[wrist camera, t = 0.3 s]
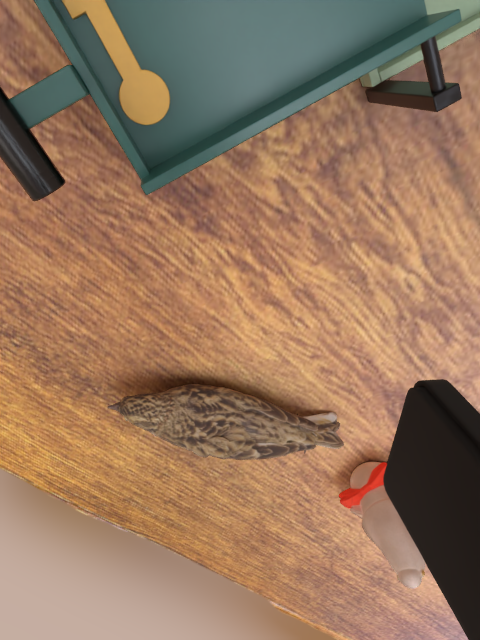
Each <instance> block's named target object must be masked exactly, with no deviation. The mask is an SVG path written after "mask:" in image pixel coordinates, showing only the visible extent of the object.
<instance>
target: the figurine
mask: <svg viewBox="0 0 480 640" xmlns="http://www.w3.org/2000/svg"><path fill="white" fill-rule="evenodd" d="M386 466H387V463H385V462H382V463H380V462H366V463H363V464H361V465H359V466H358V467H357V468H355V470H354V471H353V472H352V475H351V478H350V488H349V489H347V490H345V491H343V492H341V493H340V494H339V498H341V500H340V503H341V504H342V505H344V506H345V507H347V508H351V509H350V511H351V512H352V513H353V514H355V515H357V516H358V517H360V518H361V519H362V527H363V529H364V531H365V533H366V534H367V536H368V537H369V538H370V539H371V540H372V541H373V542H374V543H375V544H376V546H377V547H378V548H379V549H380V550H381V552H382V553H383V554H384V556H385V557H386V559H387V561H388V562H389V564H390V565H391V567H392V568H393V570H394V571H395V573H396V574H397V579H398V580H399V581H400V582H401V583H402V584H403V585H404V586H406V587H408V588H416V587H418V586H419V585H420V584H421V580H422V577H424V575H425V572H424V570H425V561H424V559H423V557H422V555H421V554H420V552H419V550H418V548H417V547H416V545H415V543H414V541H413V539H412V538H411V536H410V534H409V532H408V530H407V529H406V527H405V525H404V523H403V522H402V520H401V518H400V516H399V514H398V513H397V511H396V509H395V507H394V506H393V504H392V502H391V500H390V498H389V497H388V495H387V493H386V491H385V487H384V482H383V477H384V473H385V469H386Z"/></svg>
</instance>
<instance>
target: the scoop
mask: <svg viewBox="0 0 480 640" xmlns="http://www.w3.org/2000/svg"><path fill="white" fill-rule="evenodd" d="M34 1H35V3H36V5H37V6H38V8H39V10H40V11H41V13H42V15H43V17H44V18H45V20H46V22H47V23H48V25H49V27H50V28H51V30H52V32H53V33H54V35H55V37H56V38H57V40H58V42H59V43H60V45H61V47H62V48H63V50H64V52H65V53H66V55H67V57H68V58H69V60H70V62H71V63H72V65H67V66H65V67H64V68H62V69H60V70H58V71H57V72H55V73H53V74H52V75H50V76H48V77H47V78H45V79H43V80H41V81H40V82H38V83H36V84H35V85H33V86H31V87H29V88H28V89H26V90H24V91H23V92H21V93H19V94H18V95H16V96H14V97H12V98H11V99H9V98H8V97H7V95H6V94H5V92H4V91H3V90H2V88H1V87H0V157H1V159H2V160H3V161H4V163H5V164H6V165H7V167H8V168H9V169H10V171H11V172H12V174H13V175H14V176H15V178H16V179H17V180H18V182H19V183H20V184H21V186H22V187H23V188H24V190H25V191H26V192H27V194H28V195H29V196H30V198H31V199H32V200H33V201H38V200H40V199H42V198H44V197H46V196H48V195H49V194H51V193H53V192H54V191H56V190H57V189H59V188H60V187H62V186H63V185H64V184H65V180H64V178H63V177H62V175H61V174H60V172H59V171H58V169H57V168H56V167H55V165H54V164H53V162H52V161H51V159H50V158H49V156H48V155H47V153H46V152H45V151H44V149H43V148H42V146H41V145H40V143H39V142H38V140H37V139H36V137H35V136H34V135H33V133H32V132H31V130H30V129H31V128H32V127H34V126H36V125H38V124H39V123H41V122H43V121H44V120H46V119H48V118H50V117H51V116H53V115H55V114H57V113H58V112H60V111H62V110H64V109H65V108H67V107H69V106H70V105H72V104H74V103H76V102H77V101H79V100H81V99H83V98H84V97H86V96H88V95H89V93H90V95H91V97H92V98H93V100H94V102H95V104H96V105H97V107H98V109H99V110H100V112H101V114H102V115H103V117H104V119H105V120H106V122H107V124H108V125H109V127H110V129H111V130H112V132H113V134H114V135H115V137H116V139H117V140H118V142H119V144H120V145H121V147H122V149H123V150H124V152H125V154H126V155H127V157H128V159H129V160H130V162H131V164H132V165H133V167H134V169H135V170H136V172H137V174H138V175H139V177H140V179H141V188H142V189H143V191H144V193H145V194H146V195H148V194H150V193H152V192H154V191H155V190H157V189H159V188H161V187H163V186H165V185H166V184H168V183H170V182H172V181H174V180H175V179H177V178H179V177H181V176H183V175H184V174H186V173H188V172H190V171H192V170H194V169H195V168H197V167H199V166H201V165H203V164H204V163H206V162H208V161H210V160H212V159H213V158H215V157H217V156H219V155H221V154H222V153H224V152H226V151H228V150H230V149H232V148H233V147H235V146H237V145H239V144H241V143H242V142H244V141H246V140H248V139H250V138H251V137H253V136H255V135H257V134H259V133H261V132H262V131H264V130H266V129H268V128H270V127H271V126H273V125H275V124H277V123H279V122H280V121H282V120H284V119H286V118H288V117H289V116H291V115H293V114H295V113H297V112H299V111H300V110H302V109H304V108H306V107H308V106H309V105H311V104H313V103H315V102H317V101H318V100H320V99H322V98H324V97H326V96H328V95H329V94H331V93H333V92H335V91H337V90H338V89H340V88H342V87H344V86H346V85H347V84H349V83H351V82H353V81H355V80H356V79H358V78H360V77H362V76H364V75H366V74H367V73H369V72H371V71H373V70H375V69H376V68H378V67H380V66H382V65H384V64H385V63H387V62H389V61H391V60H393V59H395V58H396V57H398V56H400V55H402V54H404V53H405V52H407V51H409V50H411V49H413V48H414V47H416V46H418V45H420V44H422V43H423V42H425V41H427V40H429V39H431V38H433V37H434V36H436V35H438V34H440V33H442V32H443V31H445V30H447V29H449V28H451V27H452V26H454V25H456V24H458V23H460V22H461V21H462V19H461V13H460V9H455V10H450V11H445V12H440V13H435V14H430V15H427V10H426V5H425V1H424V0H105V1H106V3H107V5H108V7H109V9H110V11H111V13H112V15H113V17H114V19H115V20H116V22H117V24H118V26H119V28H120V30H121V32H122V34H123V36H124V37H125V39H126V41H127V43H128V45H129V47H130V49H131V51H132V53H133V55H134V56H135V58H136V60H137V62H138V64H139V66H140V68H141V70H149V71H152V72H154V73H156V74H157V75H158V76H160V77H161V78H162V79H163V81H164V82H165V84H166V85H167V88H168V90H169V94H170V105H169V109H168V111H167V113H166V115H165V116H164V118H163V119H162V120H160V121H159V122H157V123H155V124H152V125H142V124H138V123H136V122H134V121H132V120H131V119H130V118H129V117H128V116H127V115H126V114H125V113H124V111H123V109H122V107H121V104H120V101H119V89H120V85H121V83H122V81H123V79H122V77H121V75H120V73H119V72H118V70H117V68H116V66H115V64H114V63H113V61H112V59H111V57H110V55H109V54H108V52H107V50H106V48H105V46H104V45H103V43H102V41H101V39H100V37H99V36H98V34H97V32H96V30H95V28H94V26H93V25H92V23H91V21H90V19H89V17H88V16H87V14H86V13H85V14H83V15H82V16H80V17H78V18H77V19H75V20H74V19H72V18H71V16H70V14H69V12H68V11H67V9H66V7H65V5H64V4H63V2H62V0H34Z"/></svg>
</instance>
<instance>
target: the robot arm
mask: <svg viewBox="0 0 480 640" xmlns="http://www.w3.org/2000/svg"><path fill="white" fill-rule="evenodd" d="M383 482H384V487H385V491H386V493H387V495H388V497H389V498H390V500H391V502H392V504H393V506H394V507H395V509H396V511H397V513H398V514H399V516H400V518H401V520H402V522H403V523H404V525H405V527H406V529H407V530H408V532H409V534H410V536H411V538H412V539H413V541H414V543H415V545H416V547H417V548H418V550H419V552H420V554H421V555H422V557H423V559H424V561H425V563H426V564H427V566H428V568H429V570H430V571H431V573H432V575H433V577H434V579H435V580H436V582H437V584H438V586H439V588H440V589H441V591H442V593H443V595H444V596H445V598H446V600H447V602H448V604H449V605H450V607H451V609H452V611H453V613H454V614H455V616H456V618H457V620H458V621H459V623H460V625H461V627H462V629H463V630H464V632H465V634H466V636H467V637H468V639H469V640H480V414H479V413H478V411H477V410H476V409H475V408H474V407H473V406H472V405H471V404H470V403H469V402H468V401H467V400H466V399H465V398H464V397H463V396H462V395H461V394H460V393H459V392H458V391H457V390H456V389H455V388H454V387H453V386H452V384H451V383H449V382H448V381H447V380H443V379H441V380H423V381H418V382H417V383H416V384H415V386H414V388H410V389H409V390H408V393H407V396H406V399H405V403H404V406H403V410H402V413H401V417H400V420H399V424H398V427H397V431H396V434H395V438H394V441H393V445H392V448H391V452H390V455H389V459H388V462H387V466H386V469H385V473H384V477H383Z"/></svg>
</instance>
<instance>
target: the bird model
mask: <svg viewBox="0 0 480 640" xmlns="http://www.w3.org/2000/svg"><path fill="white" fill-rule="evenodd" d="M108 408H110V409H113V410H116V411H119V412H120V414H121V415H122V416H124V418H125V420H126V421H129V422H131V423H132V424H133V425H135V426H137V427H140V428H142V429H144V430H147V431H149V432H151V433H152V434H154V435H155V436H157V437H159V438H161V439H163V440H166V441H168V442H170V443H172V444H174V445H176V446H178V447H181V448H184V449H187V450H189V451H193V452H194V454H196V455H198V456H201V457H208V456H213V457H217V458H221V459H236V460H251V459H269V458H275V457H281V456H285V455H287V454H290V453H293V452H297V451H303V450H304V453H305V452H306V450H310V449H314V448H315V447H316V445H319V446H323V447H328V448H333V449H339V448H341V447H342V446H343V445H344V443H343V441H342V440H341V439H340V438H339V436H338V435H337V434H336V433H335V432H336V431H337V430H338V429H339V427H340V423H339V422H337V415H336V413H334V412H333V413H323V414H318V415H312V416H305V417H301V416H298V414H297V415H295V414H293V413H290V412H288V411H286V410H284V409H282V408H281V407H279V406H277V405H275V404H273V403H271V402H268V401H265V400H263V399H260V398H257V397H254V396H251V395H247V394H244V393H241V392H238V391H235V390H232V389H228V388H225V387H214V386H212V385H198V384H190V385H184V386H179V387H174V388H171V389H169V390H167V391H164V392H160V393H145V394H139V395H134V396H127V397H124V398H123V399H122V400H121V401H120V402H118V403H116V404H114V405H111V406H108Z"/></svg>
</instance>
